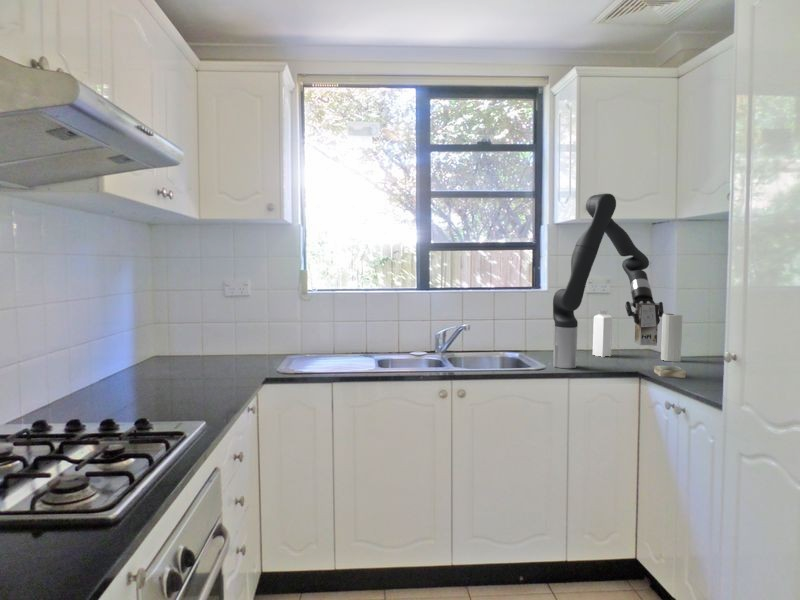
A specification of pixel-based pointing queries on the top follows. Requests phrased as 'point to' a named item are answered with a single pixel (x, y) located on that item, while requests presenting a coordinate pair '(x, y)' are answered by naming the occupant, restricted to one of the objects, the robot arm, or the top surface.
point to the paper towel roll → (671, 337)
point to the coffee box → (647, 324)
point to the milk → (602, 334)
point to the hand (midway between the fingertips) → (647, 323)
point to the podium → (669, 371)
